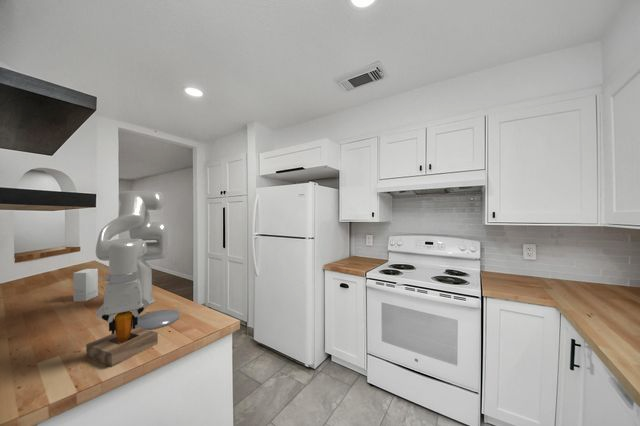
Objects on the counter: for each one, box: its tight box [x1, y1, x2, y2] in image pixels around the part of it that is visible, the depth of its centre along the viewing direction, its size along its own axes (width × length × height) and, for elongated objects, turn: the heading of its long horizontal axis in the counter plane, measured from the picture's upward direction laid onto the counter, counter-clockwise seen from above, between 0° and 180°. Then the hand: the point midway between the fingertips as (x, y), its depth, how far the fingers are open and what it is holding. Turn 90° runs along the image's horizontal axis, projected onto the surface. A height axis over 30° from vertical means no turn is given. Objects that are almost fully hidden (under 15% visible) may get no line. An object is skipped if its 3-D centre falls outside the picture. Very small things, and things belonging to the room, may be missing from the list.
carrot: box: [114, 311, 133, 344], centre depth 83 cm, size 5×5×15 cm
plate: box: [132, 309, 181, 331], centre depth 104 cm, size 18×18×1 cm
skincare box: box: [73, 268, 99, 302], centre depth 130 cm, size 8×7×16 cm
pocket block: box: [85, 326, 159, 368], centre depth 82 cm, size 14×14×4 cm
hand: (123, 329), depth 83 cm, fingers closed on carrot, 4 cm apart
